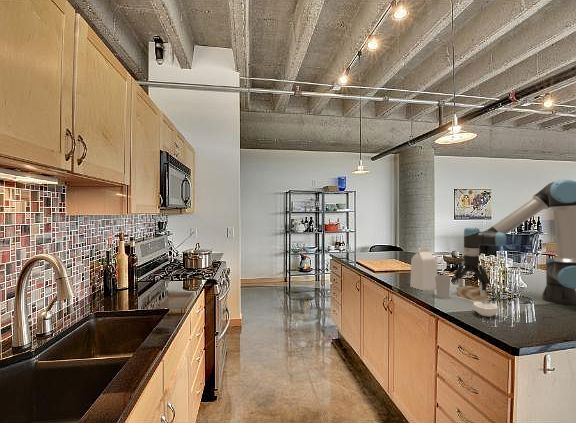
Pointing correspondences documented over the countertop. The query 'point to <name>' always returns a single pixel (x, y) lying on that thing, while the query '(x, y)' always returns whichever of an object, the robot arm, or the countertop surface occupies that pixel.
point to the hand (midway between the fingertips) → (471, 292)
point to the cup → (442, 286)
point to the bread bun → (470, 293)
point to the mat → (471, 300)
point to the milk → (423, 270)
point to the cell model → (486, 308)
